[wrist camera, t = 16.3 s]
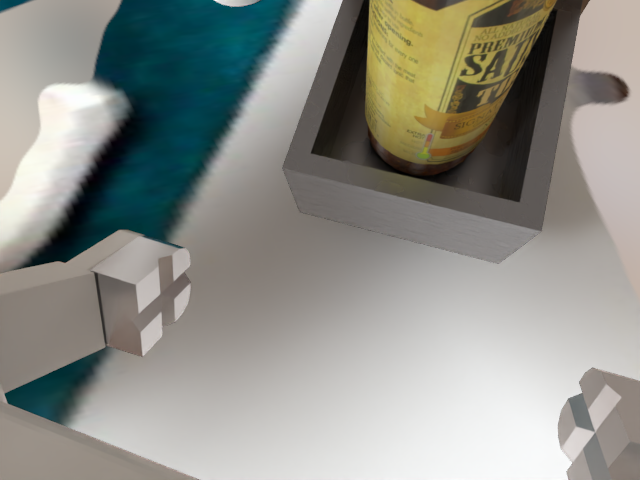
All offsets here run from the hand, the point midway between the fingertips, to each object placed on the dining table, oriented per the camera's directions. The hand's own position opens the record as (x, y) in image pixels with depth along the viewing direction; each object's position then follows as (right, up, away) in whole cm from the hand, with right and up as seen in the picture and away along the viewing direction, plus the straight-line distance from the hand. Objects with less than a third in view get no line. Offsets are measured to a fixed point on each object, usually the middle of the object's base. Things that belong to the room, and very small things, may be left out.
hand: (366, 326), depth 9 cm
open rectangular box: (+5, +8, +16) cm, 18 cm away
